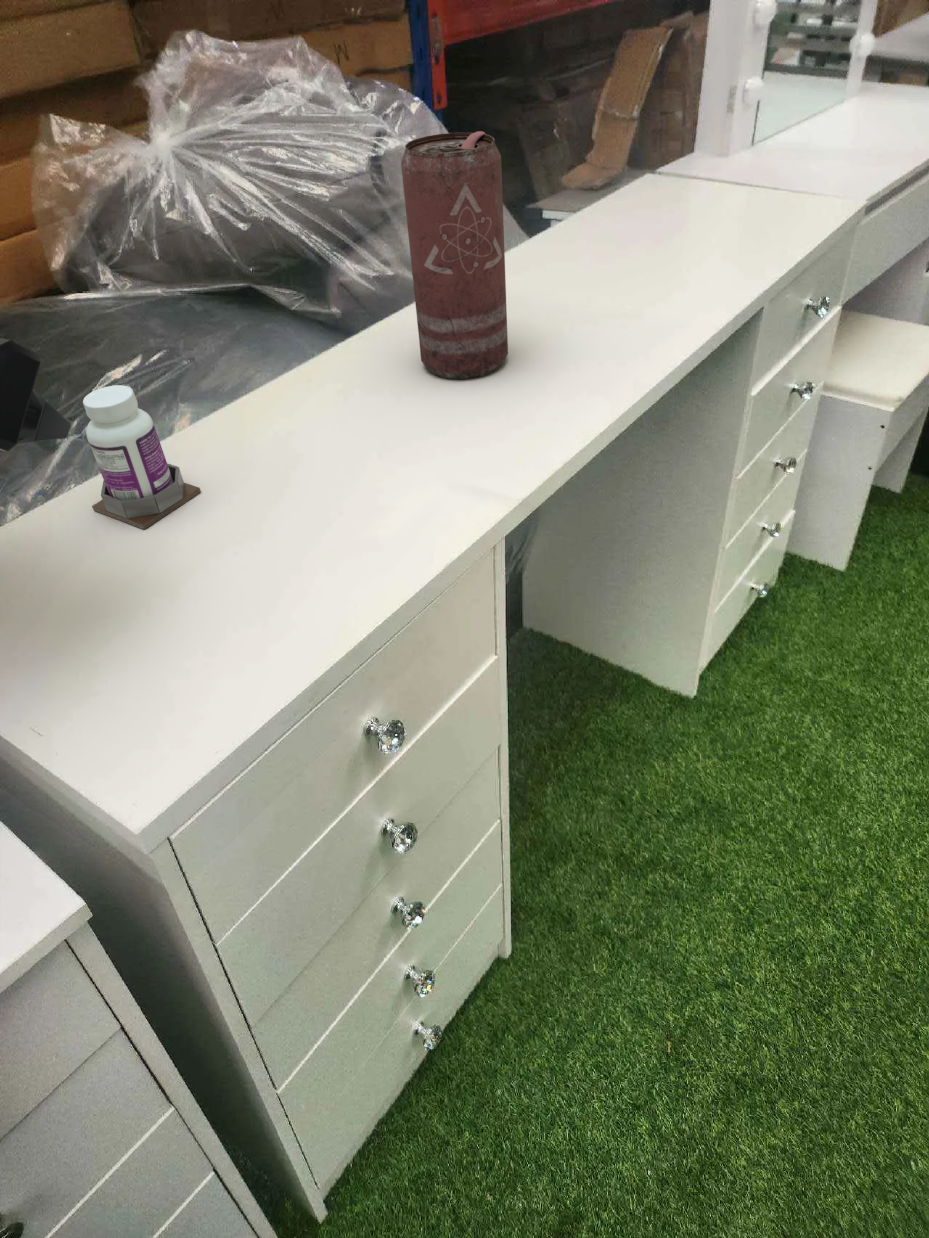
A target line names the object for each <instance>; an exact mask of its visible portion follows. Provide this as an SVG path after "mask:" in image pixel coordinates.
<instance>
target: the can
mask: <svg viewBox="0 0 929 1238" xmlns="http://www.w3.org/2000/svg"><path fill="white" fill-rule="evenodd" d="M404 148H405V149H404V152H403V156H402V158H401V161H400V167H401V176H402V177H401V178H402V187H403V188H402V189H403V196H404V206H405V214H406V216H405V217H406V224H407V225H406V226H407V234H408V244H409V255H410V263H411V273H412V275H411V276H412V281H413V282H412V283H413V293H414V302H415V303H414V304H415V313H416V323H417V332H418V333H417V334H418V340H419V341H418V342H419V352H420V353H419V354H420V361H421V363H422V364H423V365H424V367H425V368H426V369H427V370H428V372H430V374H433V375H434V376H437V377H439V378H442V379H443V378H444V379H448V380H468V379H469V380H470V379H476V378H477V379H478V378H480V377H485V376H487V375H490V374H493V373H495V372H496V371H498V369H500V368H502V365H503V364H504V363H505V360H506V359H507V356H508V354H509V342H508V341H509V340H508V337H509V336H508V313H507V312H508V311H507V285H506V284H507V283H506V256H505V254H506V253H505V231H504V230H505V229H504V226H505V225H504V201H503V200H504V199H503V177H502V176H503V173H502V155H501V152H500V151H499V148H498V147H497V145H496V141H495V138H494V136H491V135H489V134H486V133H485V132H484V131H481V130H477V131H475V132H448V133H439V134H438V133H437V134H431V135H427V136H423V137H419V138H416V139H412V140H410V141H408V142H407V143H406V144H405V146H404Z"/></svg>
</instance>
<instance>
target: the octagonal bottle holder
mask: <svg viewBox="0 0 929 1238" xmlns="http://www.w3.org/2000/svg"><path fill="white" fill-rule="evenodd" d="M167 465H168V468H169V470H170V473H171V477H172V480H173V484H171V485H170V486H168V487H166V488H165V489H163V490H162V491H160V492H159V493H157V494H155V495H154V496H150V497H144V498H138V499H132V500H126V501H122V500H119V499H116V498H114V497H111V496H110V494H109V492H108V489H107V487H106V484H105V481H104V480H103V481H102V485H101V486H102V487H101V492H100V497H101V500H99V501H97V502H96V503H94V504H93V505H92V506H91V508H92V510H93V511H94V512H97V513H99V514H102V515H104V516H107V517H110V518H112V519H115V520H118V521H121V522H123V523H126V524H128V525H131V526H134V527H136V528H138V529H141V530H147V529H149V527H151V526H153V525H154V524H155V523H157V522H158V521H160V520H161V519H163V518H165V517H166V516H167V515H168V514H171V513H172V512H173V511H176V509H178V508H180V507H181V506H183V505H184V504H185V503H187V502H189V501H190V500H192V499H193V498H195V497H196V496H198V495H199V494H201V493H202V490H201V488H200V487H199V486H196V485H193V484H190V483H188V482H185V481H184V478H183V476H182V473H181V469H180V467H179V466H177V465H174V464H171V463H168V462H167Z"/></svg>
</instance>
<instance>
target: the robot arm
mask: <svg viewBox="0 0 929 1238" xmlns="http://www.w3.org/2000/svg"><path fill="white" fill-rule="evenodd" d="M40 366H41V360H40V357H39V355H38V353H37V352H36V351H34V350H32V349H30V348H28V347H26V346H24V345H22V344H20V343H18V342H15V341H14V340H12V339H7V338H1V337H0V451H3V452H10V451H11V450H12V449H13V448H15V447H16V446H19V445H24V444H25V445H26V444H31V443H38V442H47V441H54V440H60V439H61V440H62V439H66V438H68V436H69V433H70V429H71V426H72V425H71V422H70V421H69V420H68V419H67V418H66V417H64V415H62V414H61V413H60V412H59V411H58V410H57V409H56V408H55V407H54V406H53V405H51V404H50V403H49V402H48V401H47V400H46V399H45V398H43V397H42V396H41V394H39V393H38V392H37V391H36V390H35V384H36V380H37V378H38V377H37V376H38V374H39V370H40Z"/></svg>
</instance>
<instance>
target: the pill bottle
mask: <svg viewBox="0 0 929 1238" xmlns="http://www.w3.org/2000/svg"><path fill="white" fill-rule="evenodd" d="M82 404H83V407H84V411H85V413H86V416H87V418H89V420H90V421H89V422H88V423H87V425H86V429H85V432H86V434H85V436H86V439H87V441H88V444H89V446H90V449H91V451H92V454H93V456H94V457H93V458H94V459H95V461H96V465H97V466H98V470H99V472H100V474H101V476H102V479H103V481H105V484H106V487H107V489H108V492H109V494H110V496H111V497H114V498H116V499H119V500H122V501H126V500H132V499H138V498H144V497H150V496H154V495H155V494H157V493H159V492H160V491H162V490H163V489H165V488H166V487H168V486H170V485H171V484H173V480H172V477H171V473H170V470H169V468H168V465H167V463H168V461H167V459H166V456H165V453H164V450H163V447H162V444H161V441H160V438H159V435H158V432H157V430H156V426H155V424H154V421H153V419H152V417H151V416H150V414H149V413H148V412H146V411H145V410H143V409H141V408H139V405H138V404H139V402H138V400H137V397H136V394H135V392H134V390H133V389H132V388H131V387H130V386H128V385H120V384H117V385H116V384H115V385H109V386H108V385H107V386H104V387H101V388H98V389H95V390H93V391H91V392H89V393H88V394H87V395H86V396H85V397H83V400H82Z"/></svg>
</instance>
